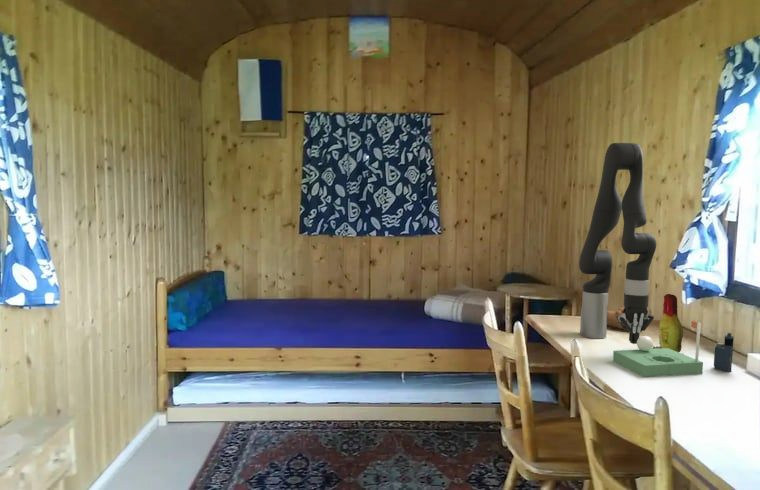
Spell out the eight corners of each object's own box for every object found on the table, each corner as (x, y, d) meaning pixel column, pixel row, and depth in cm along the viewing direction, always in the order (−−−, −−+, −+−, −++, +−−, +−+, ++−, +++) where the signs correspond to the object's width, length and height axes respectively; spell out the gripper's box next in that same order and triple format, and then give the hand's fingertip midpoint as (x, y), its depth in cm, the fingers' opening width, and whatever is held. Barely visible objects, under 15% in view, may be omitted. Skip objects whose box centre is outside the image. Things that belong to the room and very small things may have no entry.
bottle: (653, 345, 207) (656, 291, 205) (672, 346, 206) (675, 291, 204) (665, 355, 195) (668, 297, 193) (685, 355, 194) (688, 298, 192)
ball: (633, 349, 189) (633, 334, 189) (646, 348, 190) (647, 333, 190) (642, 353, 184) (643, 338, 184) (656, 352, 185) (657, 337, 185)
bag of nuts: (621, 343, 224) (656, 330, 225) (615, 318, 222) (650, 305, 223) (596, 330, 242) (628, 318, 244) (591, 307, 240) (623, 295, 242)
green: (613, 361, 188) (615, 314, 186) (666, 358, 191) (669, 312, 190) (644, 377, 172) (647, 326, 170) (702, 373, 176) (705, 324, 174)
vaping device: (728, 372, 177) (731, 334, 175) (711, 367, 181) (714, 330, 180) (733, 371, 178) (736, 333, 177) (716, 366, 182) (719, 330, 181)
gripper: (646, 290, 196) (644, 339, 198) (611, 291, 193) (609, 341, 195) (661, 294, 189) (658, 345, 190) (625, 295, 186) (623, 347, 188)
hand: (633, 343), depth 193 cm, fingers closed
